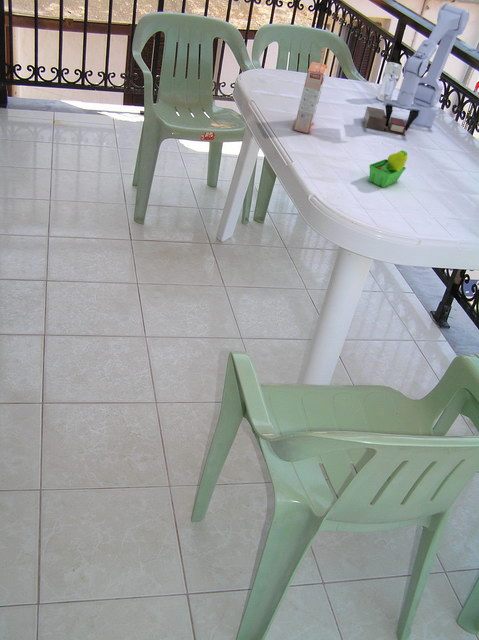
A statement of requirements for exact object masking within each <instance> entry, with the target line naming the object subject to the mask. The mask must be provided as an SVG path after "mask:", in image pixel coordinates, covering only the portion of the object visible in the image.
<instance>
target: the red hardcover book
mask: <svg viewBox="0 0 479 640" xmlns="http://www.w3.org/2000/svg"><path fill="white" fill-rule="evenodd" d="M388 126H389V129H390V131H391V132H396V133H401V134H404V133H405V132H406V131H405V127H406V123H405V120H404V119H403V118H398V117H393V116H391V117H390V120H389V124H388Z"/></svg>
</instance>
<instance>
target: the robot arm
mask: <svg viewBox="0 0 479 640" xmlns="http://www.w3.org/2000/svg"><path fill="white" fill-rule="evenodd" d="M469 19H470V11H469V9H467V8H466V9H464V8H462V7H458V6H455V5H452V4H448V3H446V2H445V3H443V4H442V5H441V6H440V8H439V9H438V13H437V18H436V24H435V25H434V27H433V30H432V31H431V32H430V34H429V36H428V38H426V39H424V40H423V41H421V43H420V45H419V46H418V48H417V49H416V51H415V52H414V53H413V55H411V56H408V57H407V59H406V61H405V63H404V65H403V73H402V77H403V78H402V81H401V85H400V88H399V91H398V94H397V98H396V99H392V100H388V99H384V101H382V105H383V106H384V107H385V115H386V118H387V121H386V124H385V126H386V127H388V124H389V121H390V117H392V115H393V109H394V108H396V109H401V110H405V111H409V113H408V118H407V121H406V123H405V125H406V127H405V131H404V132H407V131H408V130H409V128H410V127H411V125H415V126H420V127H426V128H429V129H431V128H432V127H433V125H434V123H435V119H436V116H437V112H438V107H437V105H438V103H439V102H440V99H441V97H442V92H443V89H444V87H443V84H442V83H441V81H440V78H441V75H442V73H443V70H444V68H445V66H446V64H447V62H448V59H449V57H450V54H451V52H452V49H453V47H454V44H455V42H456V40H457V38H458V36H460V35H461V36H462V35H463V33H464V31H465V29H466V27H467V24H468V23H469ZM438 43H439V45H438ZM437 45H438V47H437ZM433 56H434V57H433ZM432 57H433V58H432ZM431 58H432V61H431V63H430V66H429V62H430V60H431ZM428 66H429V68H428ZM427 68H428V71H427ZM426 71H427V73H425V72H426ZM424 74H426V75H425V76H423V75H424ZM422 76H423V77H422Z"/></svg>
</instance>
